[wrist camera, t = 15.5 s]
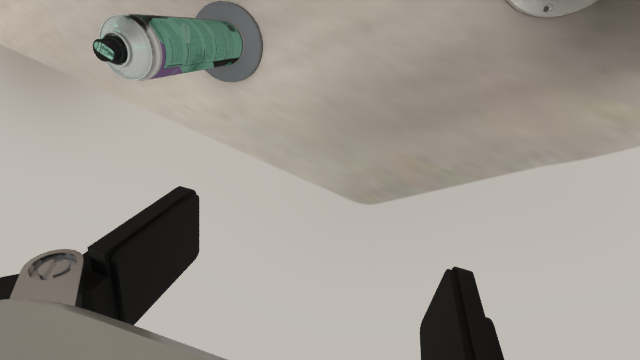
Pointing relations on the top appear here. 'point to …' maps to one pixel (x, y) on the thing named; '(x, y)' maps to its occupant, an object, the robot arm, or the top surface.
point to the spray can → (166, 45)
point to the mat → (251, 38)
